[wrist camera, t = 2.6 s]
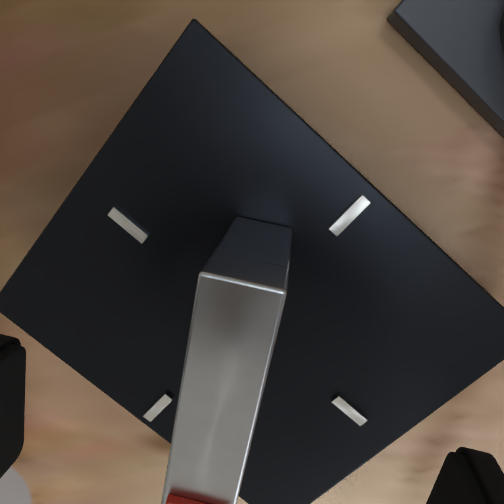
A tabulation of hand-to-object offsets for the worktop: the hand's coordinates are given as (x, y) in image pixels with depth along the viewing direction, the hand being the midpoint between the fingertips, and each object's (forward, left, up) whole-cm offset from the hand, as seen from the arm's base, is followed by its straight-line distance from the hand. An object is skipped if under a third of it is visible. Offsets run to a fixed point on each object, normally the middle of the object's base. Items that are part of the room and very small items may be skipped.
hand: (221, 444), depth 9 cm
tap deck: (0, 0, -8) cm, 8 cm away
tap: (0, 0, -5) cm, 5 cm away
